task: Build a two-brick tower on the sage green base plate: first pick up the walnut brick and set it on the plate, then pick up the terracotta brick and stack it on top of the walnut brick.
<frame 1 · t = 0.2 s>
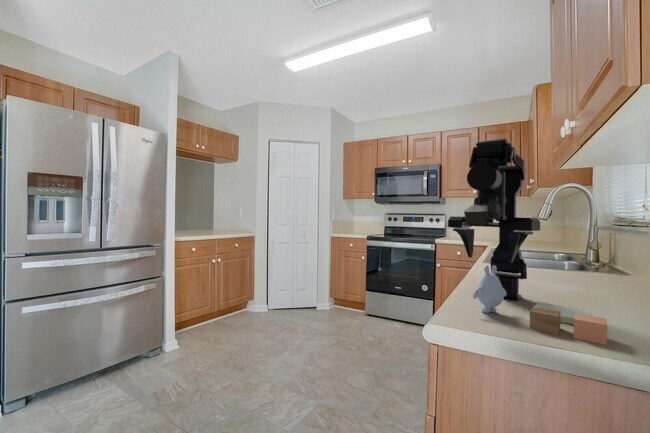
hand: (489, 259, 73), 14 cm above the worktop, tool pointing down, fingers open, 9 cm apart
base plate: (561, 316, 76), on the worktop
toy figure: (489, 313, 79), on the worktop
walnut brick: (545, 329, 68), on the worktop
terracotta brick: (589, 338, 63), on the worktop
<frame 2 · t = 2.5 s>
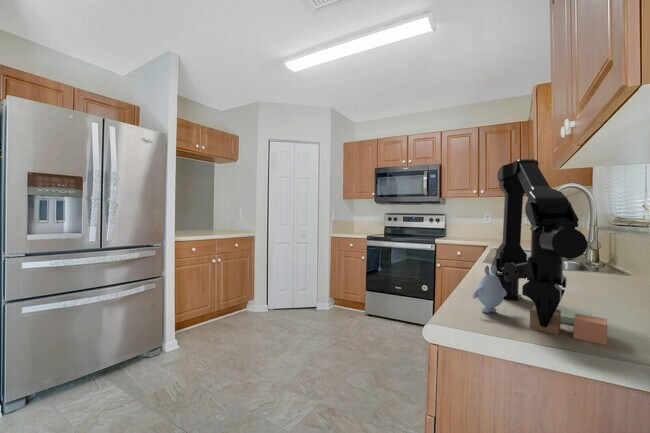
hand: (545, 323, 68), 1 cm above the worktop, tool pointing down, fingers closed on walnut brick, 5 cm apart
walnut brick: (545, 328, 68), on the worktop, touching gripper
everything else where it was.
when the fingers open (4 cm above the worktop, at t = 6.4 s): walnut brick drops 1 cm, resting on base plate.
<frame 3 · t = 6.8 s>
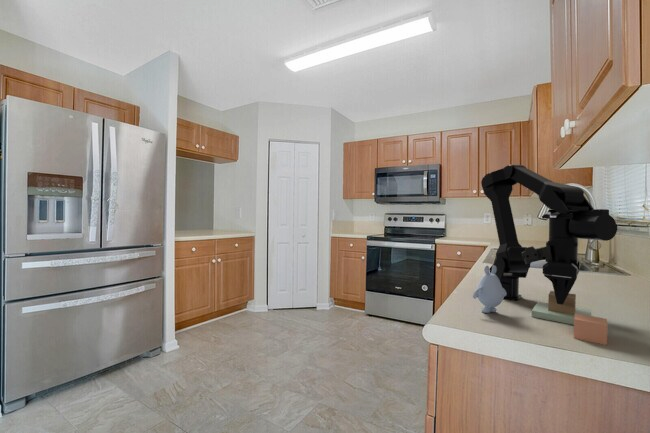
hand: (561, 300, 76), 4 cm above the worktop, tool pointing down, fingers open, 9 cm apart
walnut brick: (561, 310, 76), point 1 cm above the worktop, touching base plate
everything else where it was.
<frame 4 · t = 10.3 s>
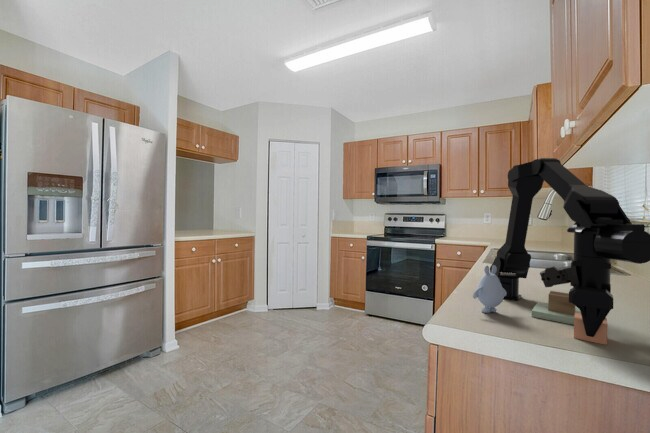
hand: (590, 332, 63), 1 cm above the worktop, tool pointing down, fingers closed on terracotta brick, 5 cm apart
terracotta brick: (590, 337, 63), on the worktop, touching gripper
everything else where it was.
when the fingers open (8 cm above the worktop, at t = 13.8 s): terracotta brick drops 1 cm, resting on walnut brick.
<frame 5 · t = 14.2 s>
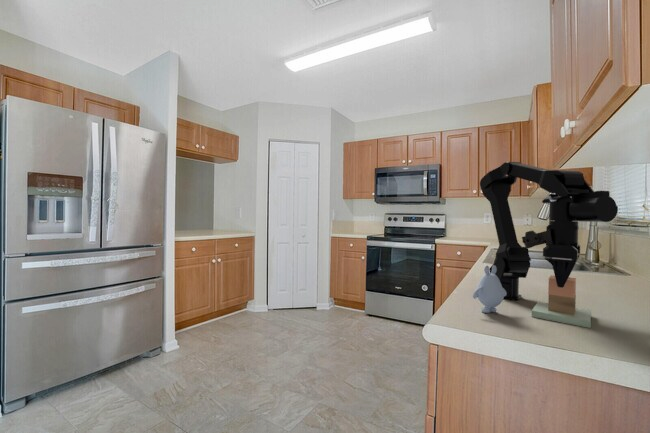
hand: (562, 284, 76), 8 cm above the worktop, tool pointing down, fingers open, 9 cm apart
walnut brick: (561, 310, 76), point 1 cm above the worktop, touching base plate, terracotta brick
terracotta brick: (562, 294, 76), point 5 cm above the worktop, touching walnut brick
everything else where it was.
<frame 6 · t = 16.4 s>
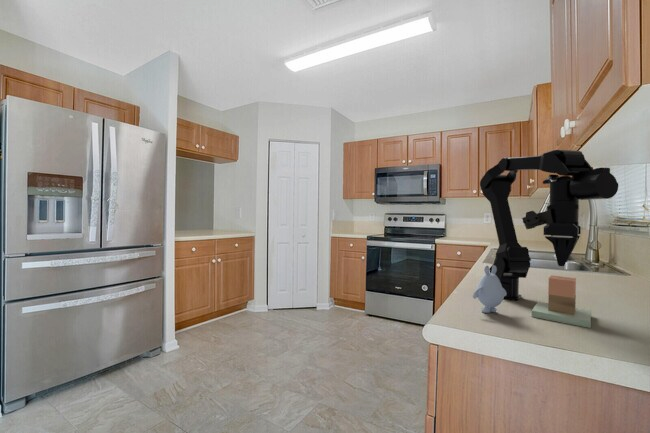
hand: (562, 264, 76), 13 cm above the worktop, tool pointing down, fingers open, 9 cm apart
nothing on the worktop moved.
at the end: walnut brick 0.0 cm off-centre on the base plate, point 1.5 cm above the base plate's base; terracotta brick 0.0 cm off-centre on the walnut brick, point 4.0 cm above the walnut brick's base; the gripper is holding nothing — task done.
